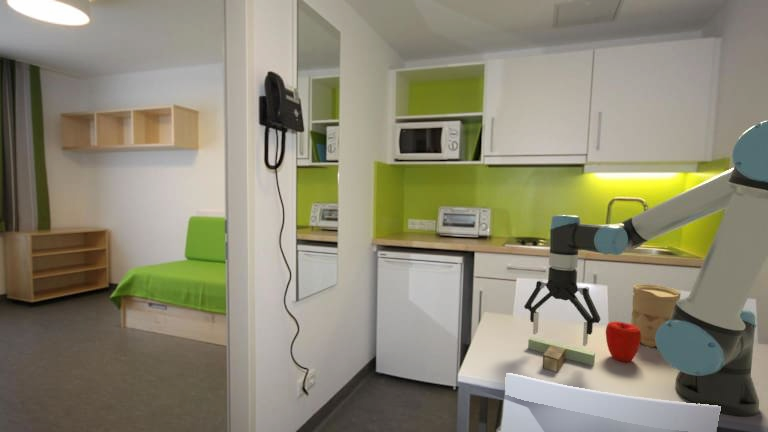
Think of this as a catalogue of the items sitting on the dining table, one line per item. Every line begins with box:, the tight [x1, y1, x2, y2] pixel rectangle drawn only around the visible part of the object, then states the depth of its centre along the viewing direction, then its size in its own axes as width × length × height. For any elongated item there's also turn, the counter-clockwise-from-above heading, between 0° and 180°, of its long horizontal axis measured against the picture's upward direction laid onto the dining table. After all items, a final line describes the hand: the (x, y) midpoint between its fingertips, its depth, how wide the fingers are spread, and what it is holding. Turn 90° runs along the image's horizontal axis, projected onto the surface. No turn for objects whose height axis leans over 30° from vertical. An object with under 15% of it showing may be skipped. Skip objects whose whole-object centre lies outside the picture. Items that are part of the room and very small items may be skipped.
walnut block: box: [542, 345, 566, 373], centre depth 106 cm, size 4×4×9 cm
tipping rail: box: [527, 336, 596, 366], centre depth 112 cm, size 18×2×3 cm, turn 53°
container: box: [630, 283, 681, 348], centre depth 124 cm, size 13×13×18 cm
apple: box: [605, 321, 642, 363], centre depth 111 cm, size 9×9×11 cm
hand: (559, 338), depth 110 cm, fingers open, 13 cm apart
